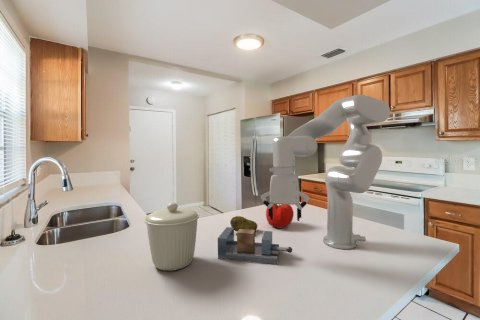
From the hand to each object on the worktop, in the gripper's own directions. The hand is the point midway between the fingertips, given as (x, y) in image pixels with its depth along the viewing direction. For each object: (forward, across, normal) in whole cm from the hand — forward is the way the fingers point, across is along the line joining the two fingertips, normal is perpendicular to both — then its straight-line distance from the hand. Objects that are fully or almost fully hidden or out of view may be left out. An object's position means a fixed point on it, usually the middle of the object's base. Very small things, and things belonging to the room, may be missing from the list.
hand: (284, 219), depth 83 cm
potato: (+14, -20, +21) cm, 32 cm away
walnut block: (+12, -14, 0) cm, 19 cm away
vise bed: (+14, -13, 0) cm, 19 cm away
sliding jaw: (+12, -3, 0) cm, 12 cm away
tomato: (+14, -4, +34) cm, 37 cm away
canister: (+13, -37, -13) cm, 42 cm away
